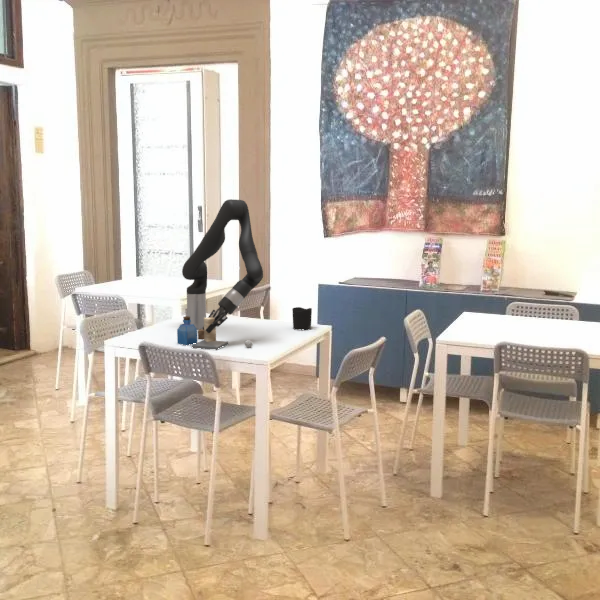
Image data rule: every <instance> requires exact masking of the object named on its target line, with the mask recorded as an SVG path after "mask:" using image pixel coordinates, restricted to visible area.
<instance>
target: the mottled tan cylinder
mask: <svg viewBox="0 0 600 600" xmlns="http://www.w3.org/2000/svg"><path fill="white" fill-rule="evenodd" d="M213 320H214V318H213V317H209V316H208V317H206V318H204V339H203V340H205V341H206V342H212V341H217V327H215V328H214V329H213V330H212V331H211V332H210V333H208V332H207V331H206V329H207V328H208V327H209V325H210V324H211V323H212V322H213Z"/></svg>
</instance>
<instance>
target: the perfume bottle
mask: <svg viewBox="0 0 600 600" xmlns="http://www.w3.org/2000/svg"><path fill="white" fill-rule="evenodd" d="M190 322H191V319H190V317H189V316H186V315H185V316H183V319H182V323H181V324H180V325H179V326H178V328H177V331H176V336H177V338H176V339H177V344H178V345H181V344H183V345H182V346H186V345H187V346H190V345H189V344H192V345H193V343H198V329H196V327H195V326H194V324H190Z"/></svg>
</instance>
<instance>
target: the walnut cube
mask: <svg viewBox="0 0 600 600" xmlns="http://www.w3.org/2000/svg"><path fill="white" fill-rule="evenodd" d="M197 340H204V330H203V329H197Z"/></svg>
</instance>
